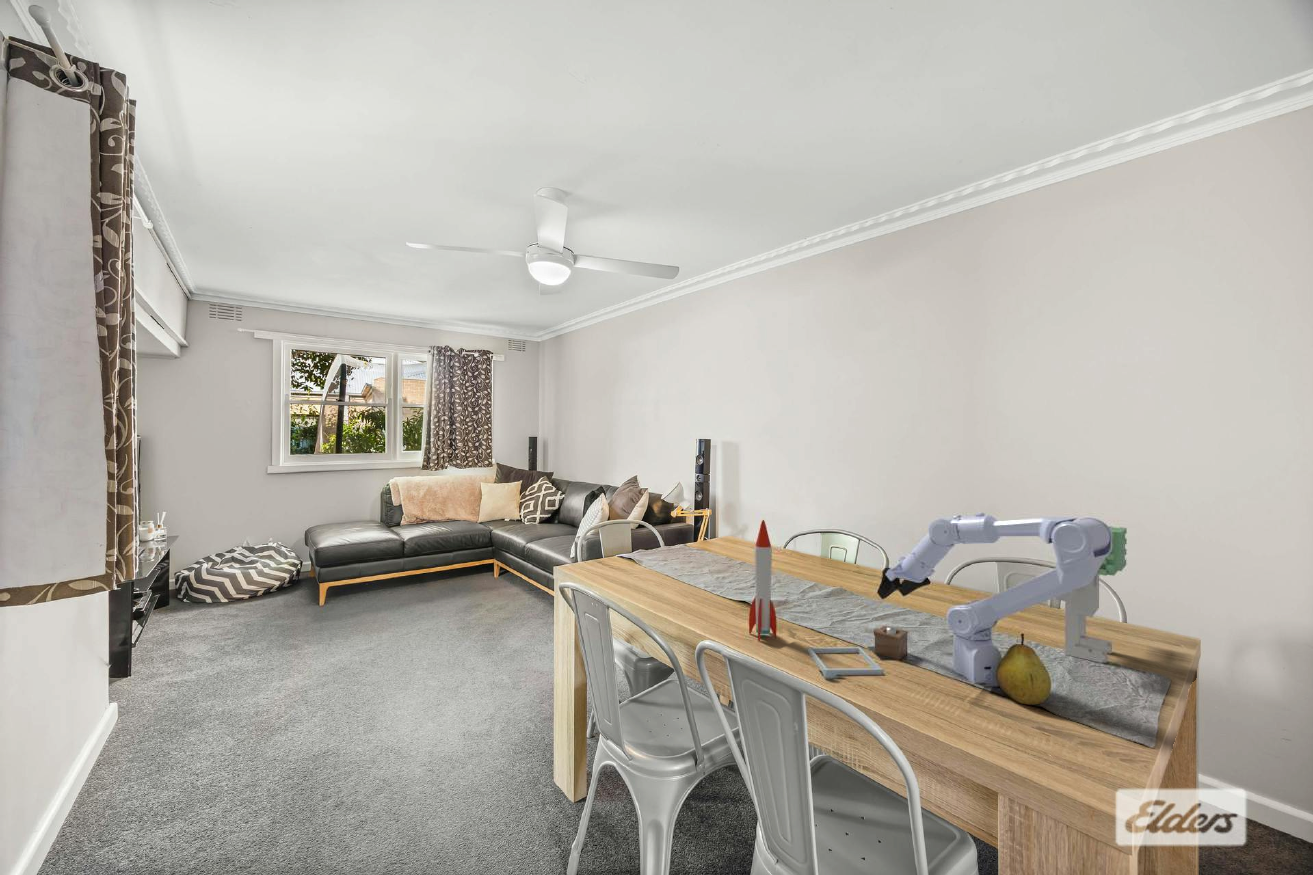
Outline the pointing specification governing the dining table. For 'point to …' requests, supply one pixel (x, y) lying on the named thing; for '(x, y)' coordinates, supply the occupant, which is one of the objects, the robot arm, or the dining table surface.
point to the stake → (906, 657)
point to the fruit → (1023, 675)
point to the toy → (1091, 605)
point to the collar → (890, 643)
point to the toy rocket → (763, 587)
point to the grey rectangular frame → (833, 672)
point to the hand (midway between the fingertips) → (890, 594)
